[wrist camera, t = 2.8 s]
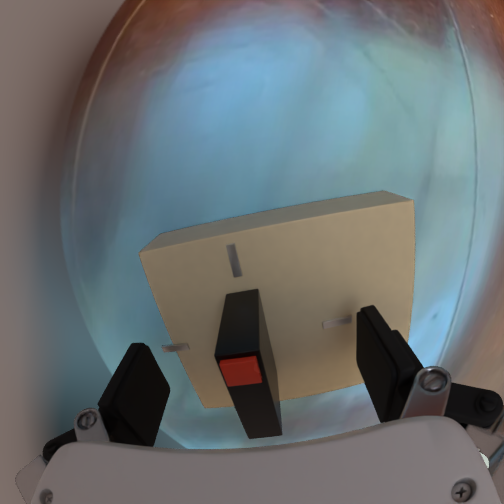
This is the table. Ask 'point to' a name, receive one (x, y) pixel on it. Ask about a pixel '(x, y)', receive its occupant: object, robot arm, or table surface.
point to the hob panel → (287, 286)
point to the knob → (249, 364)
